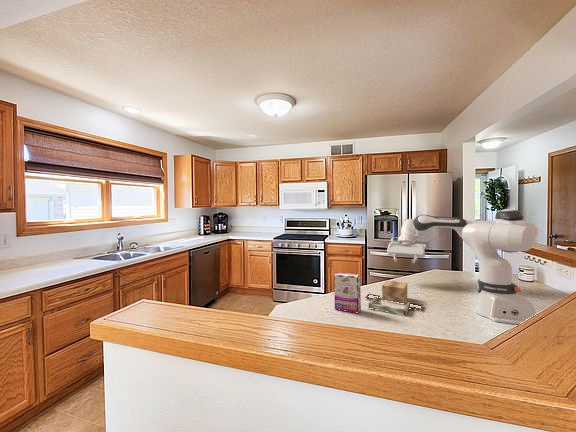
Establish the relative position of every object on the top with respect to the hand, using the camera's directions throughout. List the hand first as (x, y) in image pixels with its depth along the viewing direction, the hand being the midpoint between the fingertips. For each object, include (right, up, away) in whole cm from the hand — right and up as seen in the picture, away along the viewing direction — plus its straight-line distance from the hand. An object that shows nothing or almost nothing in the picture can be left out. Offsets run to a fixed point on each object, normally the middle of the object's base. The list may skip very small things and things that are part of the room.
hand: (404, 261), depth 155 cm
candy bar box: (-39, -17, -30) cm, 52 cm away
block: (-12, -16, -19) cm, 27 cm away
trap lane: (-18, -16, -27) cm, 36 cm away
